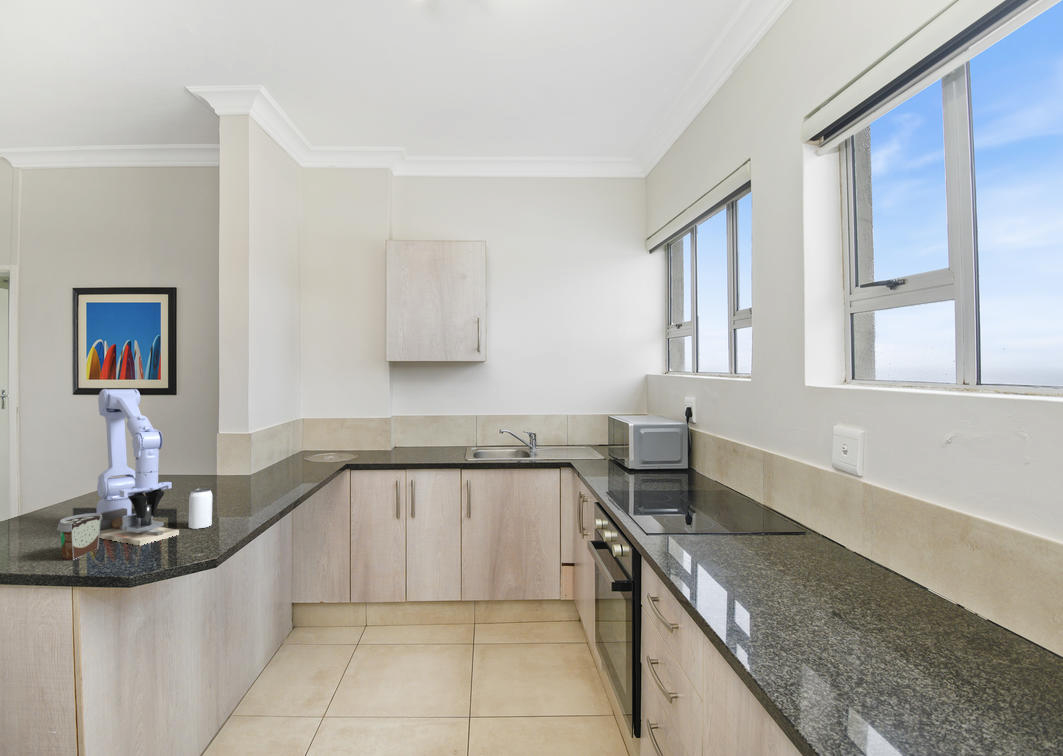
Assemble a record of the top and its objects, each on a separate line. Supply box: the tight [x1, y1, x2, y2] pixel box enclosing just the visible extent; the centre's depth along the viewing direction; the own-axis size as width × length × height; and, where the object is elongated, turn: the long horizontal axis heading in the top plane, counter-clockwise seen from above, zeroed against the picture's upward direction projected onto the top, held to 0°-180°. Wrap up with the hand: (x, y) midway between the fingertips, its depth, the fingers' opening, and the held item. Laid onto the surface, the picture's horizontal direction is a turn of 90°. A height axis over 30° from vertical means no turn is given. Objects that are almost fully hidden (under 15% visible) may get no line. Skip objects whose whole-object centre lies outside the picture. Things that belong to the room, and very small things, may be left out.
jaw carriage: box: [122, 503, 165, 533], centre depth 166 cm, size 6×8×7 cm
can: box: [188, 487, 213, 530], centre depth 179 cm, size 6×6×12 cm
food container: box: [56, 512, 102, 561], centre depth 149 cm, size 12×6×10 cm, turn 5°
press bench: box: [99, 508, 180, 547], centre depth 167 cm, size 22×12×6 cm, turn 71°
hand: (145, 516), depth 166 cm, fingers closed on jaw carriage, 3 cm apart
